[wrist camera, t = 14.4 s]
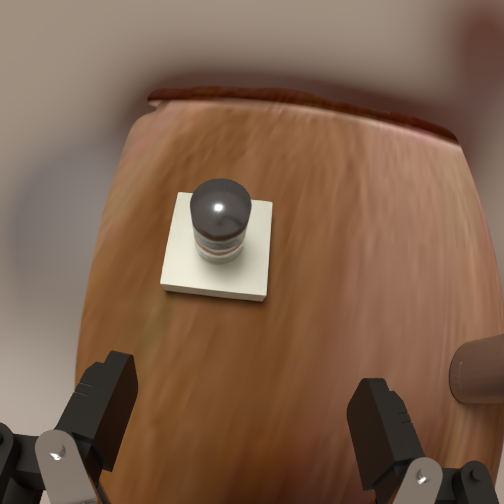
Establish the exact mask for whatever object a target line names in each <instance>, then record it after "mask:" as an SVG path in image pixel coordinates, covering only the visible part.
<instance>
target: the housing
mask: <svg viewBox="0 0 504 504" xmlns="http://www.w3.org/2000/svg"><path fill="white" fill-rule="evenodd" d="M251 209H252V203H251V198H250V196H249V194H248V192H247V191H246V189H245V188H244V187H243V186H241V185H240V184H238V183H237V182H235V181H232V180H229V179H213V180H209V181H206V182H205V183H203V184H201V185H200V186H199V187H198V188H197V189H196V190H195V191H194V193H193V194H192V197H191V200H190V212H191V219H192V226H193V233H194V240H195V247H196V250H197V252H198V253H199V255H200V256H201V257H202V258H203V259H205V260H206V261H208V262H210V263H214V264H225V263H228V262H230V261H232V260H234V259H235V258H236V257H237V256H238V255H239V254H240V252H241V250H242V247H243V243H244V239H245V234H246V230H247V226H248V222H249V218H250V213H251Z"/></svg>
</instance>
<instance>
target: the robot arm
mask: <svg viewBox="0 0 504 504" xmlns="http://www.w3.org/2000/svg"><path fill="white" fill-rule="evenodd" d="M450 387H451V390H452V393H453V395H454V397H455V398H456V399H457V400H458V401H459V402H461V403H469V404H504V334H501V335H497V336H493V337H489V338H484V339H480V340H475V341H471V342H468V343H465V344H464V345H462V346H461V347H460V348H459V349H458V351H457V352H456V354H455V356H454V358H453V361H452V364H451V368H450ZM137 393H138V380H137V375H136V369H135V363H134V357H133V355H130V354H126V353H121V352H117V351H111V352H110V353H109V355H108V356H107V358H106V360H105V362H104V363H100V362H95V363H94V364H93V365H91V366H90V367H89V368H88V369H86V370H85V372H84V374H83V376H82V378H81V380H80V383H79V384H78V385H77V387H76V389H75V392H74V393H73V394H72V396H71V398H70V400H69V402H68V404H67V406H66V408H65V410H64V412H63V414H62V416H61V418H60V420H59V422H58V424H57V425H56V427H55V428H54V429H53V430H50V431H46V432H44V433H43V434H41V435H40V436H28V435H19V434H13V433H12V431H11V430H10V429H9V428H8V427H7V426H6V425H5V424H3V423H0V504H40V500H41V496H42V493H43V490H46V491H47V494H48V497H49V499H50V502H51V504H111V503H110V501H109V499H108V497H107V494H106V492H105V490H104V488H103V486H102V484H101V482H100V479H99V478H100V475H101V472H102V469H103V470H107V471H110V472H112V470H113V467H114V464H115V461H116V457H117V454H118V451H119V448H120V445H121V442H122V439H123V436H124V433H125V430H126V427H127V424H128V421H129V418H130V415H131V412H132V410H133V407H134V404H135V401H136V398H137ZM347 421H348V425H349V429H350V433H351V437H352V442H353V446H354V450H355V454H356V459H357V463H358V468H359V472H360V477H361V481H362V486H363V491H366V490H372V489H374V490H375V494H376V495H375V496H374V497H373V498H372V500H371V502H370V503H369V504H499V502H498V498H497V495H496V492H495V489H494V486H493V483H492V480H491V478H490V475H489V472H488V470H487V468H486V467H485V465H484V464H482V463H481V462H478V461H470V462H468V463H466V464H465V465H464V466H463V467H462V468H461V469H454V468H441V467H440V466H439V464H438V463H437V462H436V461H434V460H432V459H430V458H426V457H425V455H424V453H423V450H422V447H421V445H420V442H419V439H418V437H417V434H416V432H415V429H414V427H413V424H412V423H411V419H410V417H409V414H407V409H406V407H405V404H404V402H403V400H402V399H401V398H400V397H399V396H398V395H397V394H396V393H395V391H389V388H388V386H387V383H386V381H385V380H384V379H383V378H364V379H362V380H361V382H360V383H359V385H358V387H357V389H356V391H355V393H354V395H353V396H352V398H351V400H350V402H349V404H348V407H347Z"/></svg>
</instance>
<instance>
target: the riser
mask: <svg viewBox="0 0 504 504" xmlns="http://www.w3.org/2000/svg"><path fill="white" fill-rule="evenodd" d="M192 194H193V193H182V192H178V196H177V201H176V205H175V210H174V214H173V219H172V224H171V229H170V233H169V238H168V243H167V249H166V254H165V259H164V265H163V270H162V276H161V282H160V284H161V285H162V287H163V288H164V289H165V290H166V291H174V292H182V293H190V294H198V295H206V296H215V297H224V298H233V299H242V300H252V301H263V300H264V298H265V297H266V291H267V277H268V262H269V247H270V232H271V216H272V202H266V201H258V200H251V203H252V209H251V213H250V218H249V222H248V226H247V230H246V234H245V239H244V243H243V247H242V250H241V252H240V254H239V255H238V256H237V257H236V258H235V259H234V260H232V261H230V262H228V263H225V264H214V263H210V262H208V261H206V260H205V259H203V258H202V257H201V256H200V255H199V253H198V252H197V250H196V247H195V240H194V233H193V226H192V219H191V212H190V200H191V197H192Z"/></svg>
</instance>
